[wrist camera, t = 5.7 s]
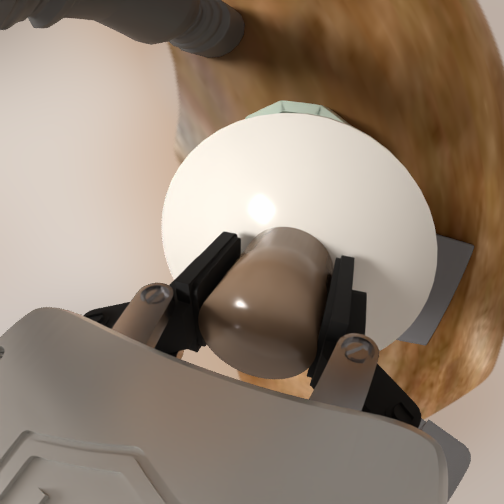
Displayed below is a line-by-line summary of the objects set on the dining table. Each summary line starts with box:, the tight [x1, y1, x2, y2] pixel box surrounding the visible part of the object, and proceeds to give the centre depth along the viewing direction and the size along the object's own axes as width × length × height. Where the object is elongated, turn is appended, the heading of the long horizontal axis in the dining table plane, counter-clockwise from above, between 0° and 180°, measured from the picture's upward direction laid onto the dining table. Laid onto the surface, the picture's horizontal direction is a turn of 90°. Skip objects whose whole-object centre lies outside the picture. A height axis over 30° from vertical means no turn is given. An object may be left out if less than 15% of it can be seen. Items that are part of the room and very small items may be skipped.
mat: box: [396, 234, 474, 345], centre depth 28 cm, size 14×14×1 cm
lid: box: [162, 113, 437, 379], centre depth 11 cm, size 13×13×5 cm
